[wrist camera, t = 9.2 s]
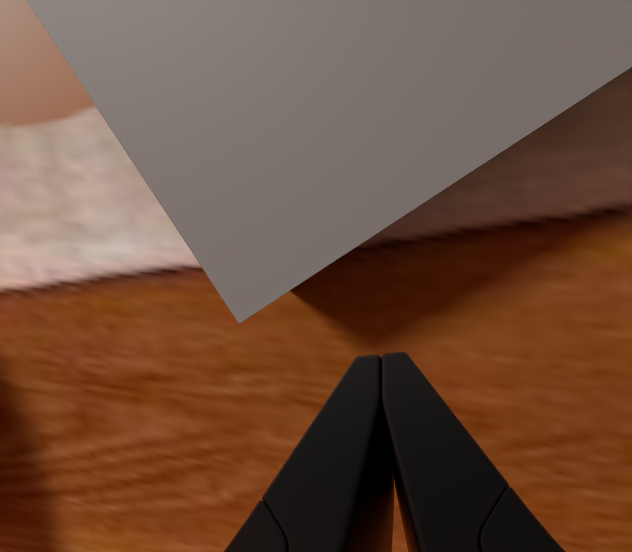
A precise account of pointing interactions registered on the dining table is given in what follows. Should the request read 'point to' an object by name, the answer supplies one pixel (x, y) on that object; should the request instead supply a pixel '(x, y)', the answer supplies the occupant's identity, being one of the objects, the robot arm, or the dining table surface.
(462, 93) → the deck
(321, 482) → the robot arm
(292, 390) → the dining table surface
